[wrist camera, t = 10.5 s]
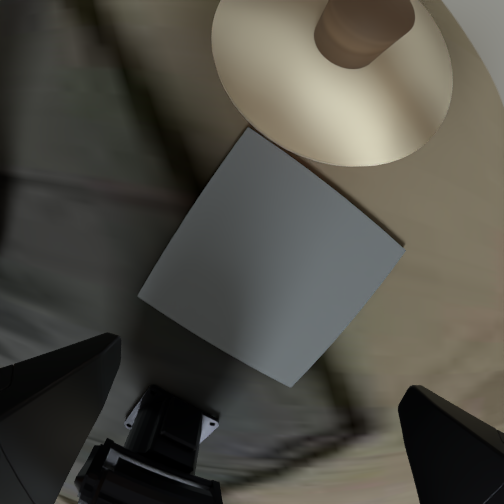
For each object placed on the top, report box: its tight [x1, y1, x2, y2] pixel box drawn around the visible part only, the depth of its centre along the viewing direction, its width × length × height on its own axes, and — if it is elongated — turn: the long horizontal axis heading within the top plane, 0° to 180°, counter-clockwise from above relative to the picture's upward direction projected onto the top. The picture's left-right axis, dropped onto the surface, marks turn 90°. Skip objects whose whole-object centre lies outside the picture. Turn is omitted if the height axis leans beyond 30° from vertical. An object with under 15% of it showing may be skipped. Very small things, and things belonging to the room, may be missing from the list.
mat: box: [138, 127, 406, 388], centre depth 20 cm, size 13×13×1 cm
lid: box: [211, 0, 453, 167], centre depth 10 cm, size 12×12×5 cm
